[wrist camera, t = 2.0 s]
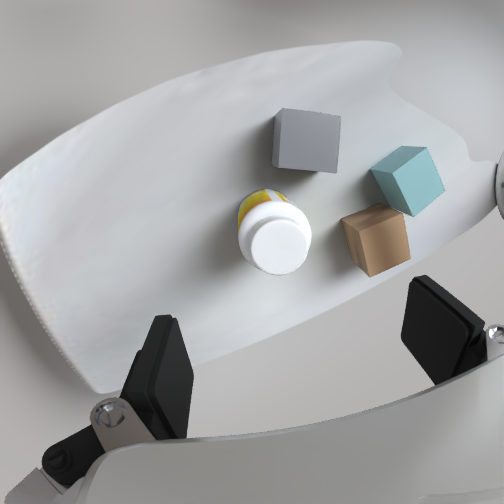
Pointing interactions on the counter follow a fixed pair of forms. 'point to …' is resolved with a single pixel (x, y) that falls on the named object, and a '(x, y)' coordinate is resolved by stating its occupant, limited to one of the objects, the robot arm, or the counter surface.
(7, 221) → the counter surface
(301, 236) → the supplement bottle
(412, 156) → the teal block
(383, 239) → the walnut block
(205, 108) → the counter surface
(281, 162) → the gray block
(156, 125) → the counter surface
